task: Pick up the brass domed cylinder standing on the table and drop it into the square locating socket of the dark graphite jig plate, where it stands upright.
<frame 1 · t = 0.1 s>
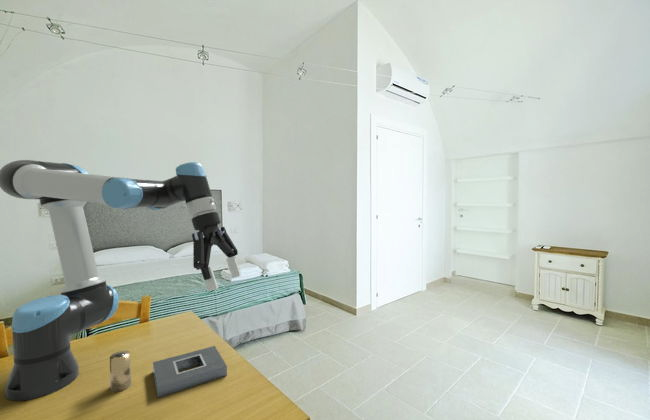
hand: (226, 283, 88), 28 cm above the table, tool tilted 20°, fingers open, 13 cm apart
brass domed cylinder: (121, 386, 84), on the table
jig plate: (189, 373, 90), on the table
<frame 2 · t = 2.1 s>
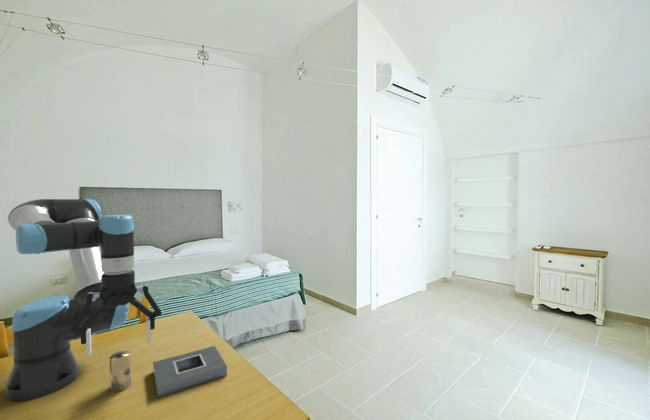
hand: (120, 347, 83), 11 cm above the table, tool pointing down, fingers open, 13 cm apart
nothing on the table moved.
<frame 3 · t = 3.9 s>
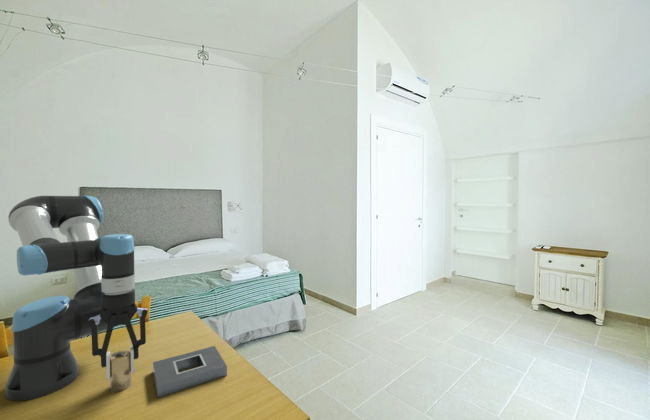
hand: (120, 373, 83), 4 cm above the table, tool pointing down, fingers closed on brass domed cylinder, 5 cm apart
brass domed cylinder: (121, 386, 84), on the table, touching gripper
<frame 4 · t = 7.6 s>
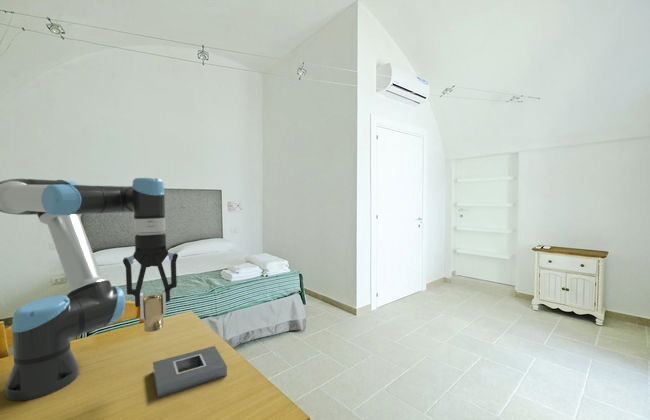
hand: (153, 315, 85), 19 cm above the table, tool pointing down, fingers closed on brass domed cylinder, 5 cm apart
brass domed cylinder: (153, 328, 85), point 16 cm above the table, touching gripper
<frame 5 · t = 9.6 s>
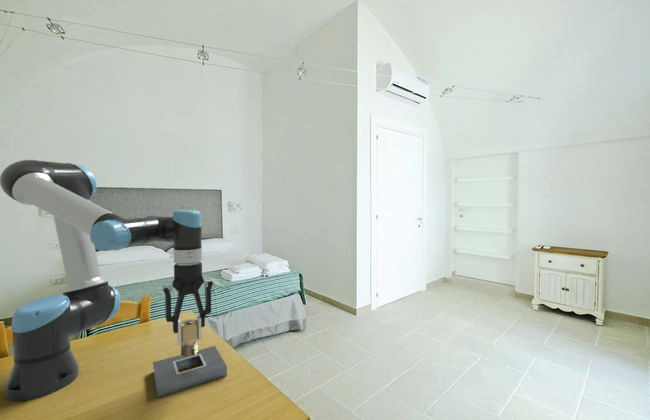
hand: (189, 340, 89), 10 cm above the table, tool pointing down, fingers closed on brass domed cylinder, 5 cm apart
brass domed cylinder: (189, 352, 89), point 7 cm above the table, touching gripper
when the fingers open (5 cm above the table, at t = 11.4 s): brass domed cylinder drops 1 cm, resting in jig plate.
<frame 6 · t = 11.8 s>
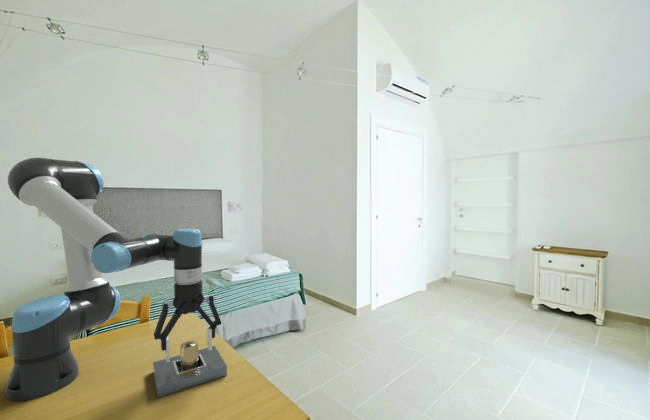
hand: (189, 354, 90), 6 cm above the table, tool pointing down, fingers open, 11 cm apart
brass domed cylinder: (189, 373, 90), resting in jig plate
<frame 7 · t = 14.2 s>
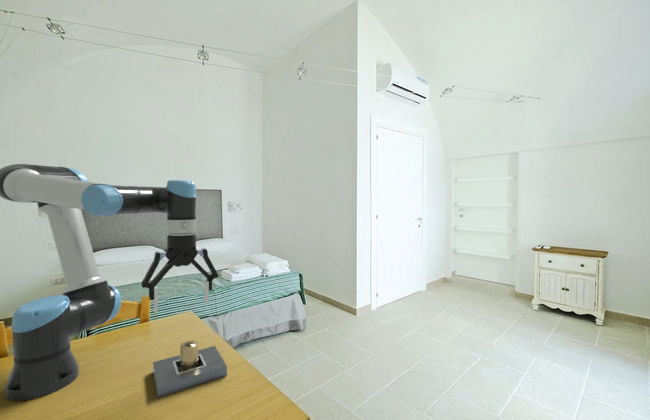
hand: (182, 305, 88), 21 cm above the table, tool pointing down, fingers open, 13 cm apart
nothing on the table moved.
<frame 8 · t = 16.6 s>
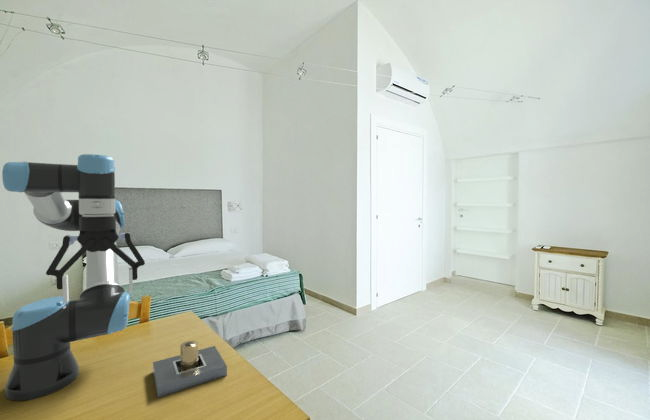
hand: (100, 296, 79), 27 cm above the table, tool pointing down, fingers open, 13 cm apart
nothing on the table moved.
at the end: brass domed cylinder 0.0 cm off-centre on the jig plate, point 0.0 cm above the jig plate's base; brass domed cylinder tilted 0°; the gripper is holding nothing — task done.
